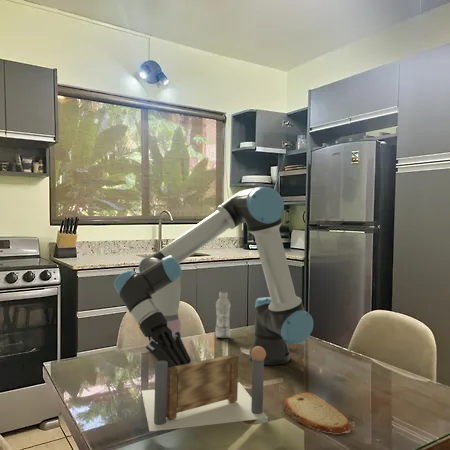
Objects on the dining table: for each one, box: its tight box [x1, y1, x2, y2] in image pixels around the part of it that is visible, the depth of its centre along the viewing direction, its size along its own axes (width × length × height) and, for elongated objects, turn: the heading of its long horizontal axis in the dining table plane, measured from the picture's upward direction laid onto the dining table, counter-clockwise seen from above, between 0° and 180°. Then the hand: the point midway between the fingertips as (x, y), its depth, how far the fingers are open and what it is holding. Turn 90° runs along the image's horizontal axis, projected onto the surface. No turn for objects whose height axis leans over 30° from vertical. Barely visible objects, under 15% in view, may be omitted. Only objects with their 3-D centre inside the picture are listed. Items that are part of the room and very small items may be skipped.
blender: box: [151, 275, 182, 337], centre depth 165 cm, size 16×12×32 cm
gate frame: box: [141, 346, 269, 432], centre depth 114 cm, size 30×24×18 cm
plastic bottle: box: [214, 291, 231, 339], centre depth 182 cm, size 6×7×20 cm
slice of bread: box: [282, 391, 351, 433], centre depth 112 cm, size 18×18×4 cm
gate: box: [166, 353, 239, 420], centre depth 110 cm, size 21×2×12 cm, turn 125°
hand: (195, 390), depth 111 cm, fingers closed
